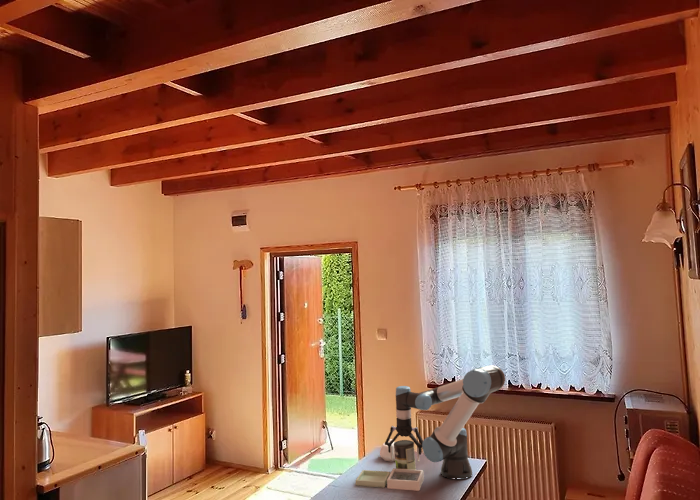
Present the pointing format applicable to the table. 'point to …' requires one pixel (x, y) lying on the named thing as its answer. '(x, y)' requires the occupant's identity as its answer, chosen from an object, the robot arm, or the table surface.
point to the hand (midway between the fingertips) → (405, 460)
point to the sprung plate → (406, 476)
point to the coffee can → (404, 454)
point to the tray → (372, 478)
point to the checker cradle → (405, 483)
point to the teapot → (385, 453)
